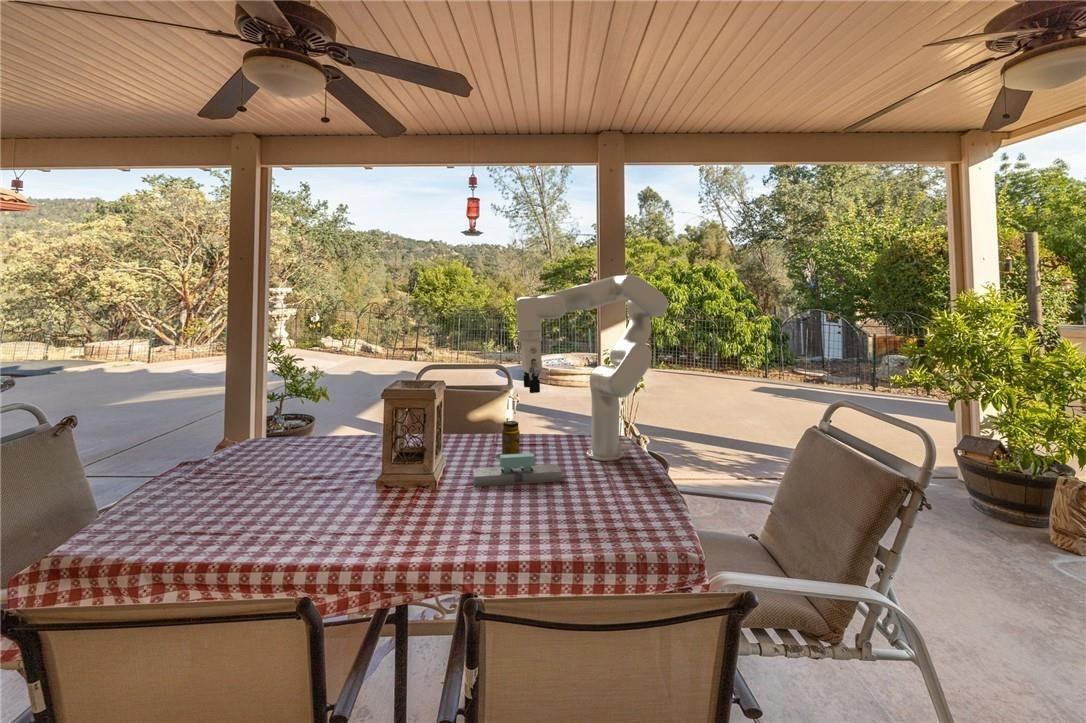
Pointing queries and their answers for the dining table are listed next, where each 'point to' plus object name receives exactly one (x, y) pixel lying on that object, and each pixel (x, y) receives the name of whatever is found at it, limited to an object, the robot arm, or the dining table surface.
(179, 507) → the dining table surface
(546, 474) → the rail
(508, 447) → the condiment
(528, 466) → the clip
